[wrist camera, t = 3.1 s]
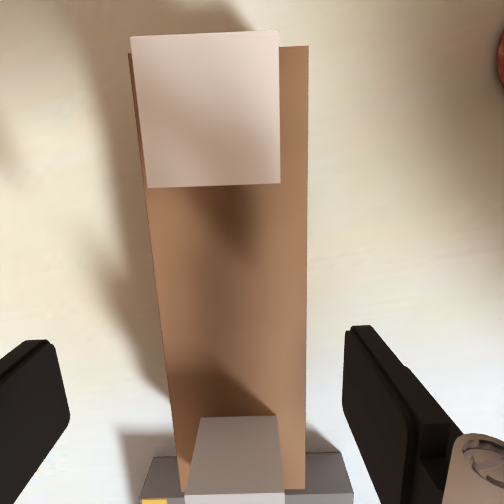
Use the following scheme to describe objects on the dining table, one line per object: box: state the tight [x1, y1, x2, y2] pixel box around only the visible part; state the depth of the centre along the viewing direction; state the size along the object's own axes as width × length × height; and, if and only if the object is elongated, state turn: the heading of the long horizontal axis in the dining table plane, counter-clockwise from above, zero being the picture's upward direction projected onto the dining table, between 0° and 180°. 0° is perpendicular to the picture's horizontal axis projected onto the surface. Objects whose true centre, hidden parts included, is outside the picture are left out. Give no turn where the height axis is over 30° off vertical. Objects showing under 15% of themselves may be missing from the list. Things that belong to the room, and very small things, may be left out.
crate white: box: [130, 30, 281, 188], centre depth 11 cm, size 4×4×4 cm
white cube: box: [184, 415, 285, 504], centre depth 15 cm, size 4×4×4 cm
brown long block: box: [128, 46, 309, 492], centre depth 17 cm, size 7×22×5 cm, turn 2°
